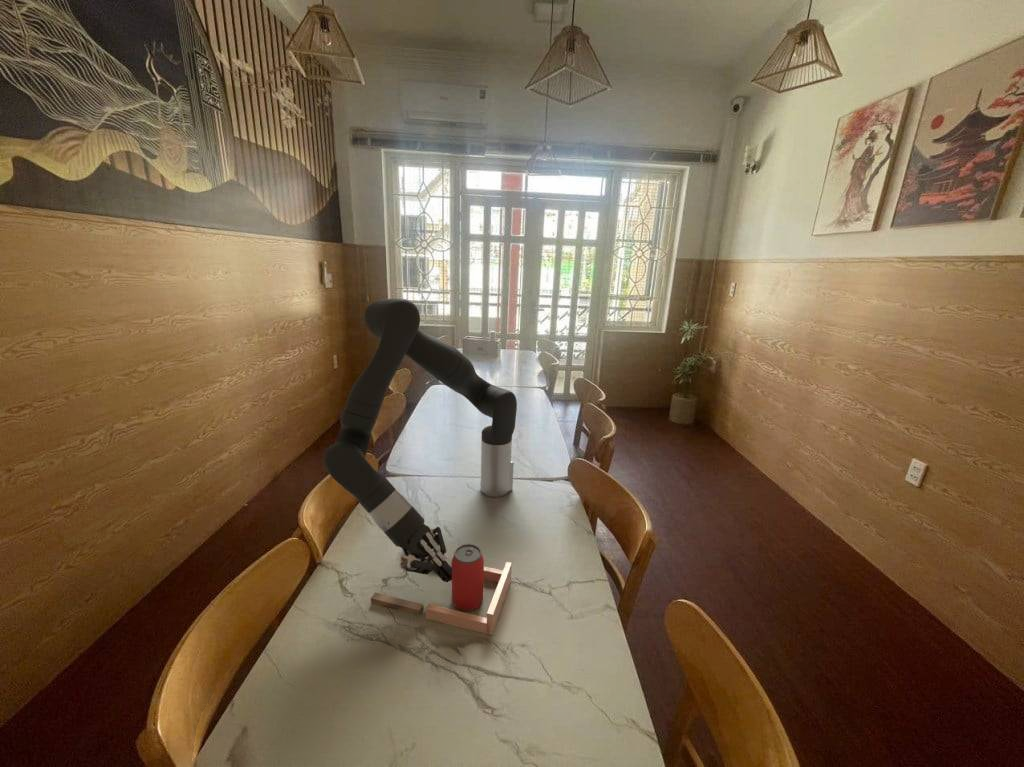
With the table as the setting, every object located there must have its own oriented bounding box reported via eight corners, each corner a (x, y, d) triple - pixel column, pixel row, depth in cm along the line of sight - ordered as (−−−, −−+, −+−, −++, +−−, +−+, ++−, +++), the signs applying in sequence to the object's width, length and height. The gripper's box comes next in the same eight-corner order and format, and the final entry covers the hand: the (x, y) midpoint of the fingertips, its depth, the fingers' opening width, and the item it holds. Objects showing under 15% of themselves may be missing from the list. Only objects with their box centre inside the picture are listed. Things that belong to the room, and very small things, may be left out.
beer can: (488, 594, 88) (489, 547, 85) (473, 617, 83) (474, 568, 79) (461, 584, 91) (462, 538, 87) (445, 605, 85) (445, 557, 82)
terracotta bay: (426, 618, 82) (425, 598, 80) (453, 568, 95) (453, 550, 94) (492, 635, 79) (493, 614, 77) (510, 581, 92) (511, 562, 91)
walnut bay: (371, 604, 85) (370, 598, 84) (404, 558, 98) (404, 552, 98) (419, 616, 82) (419, 610, 82) (447, 567, 96) (447, 562, 95)
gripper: (391, 527, 78) (450, 594, 79) (422, 492, 91) (473, 550, 91) (368, 545, 81) (425, 609, 82) (401, 508, 93) (451, 564, 94)
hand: (451, 578), depth 87 cm, fingers closed
